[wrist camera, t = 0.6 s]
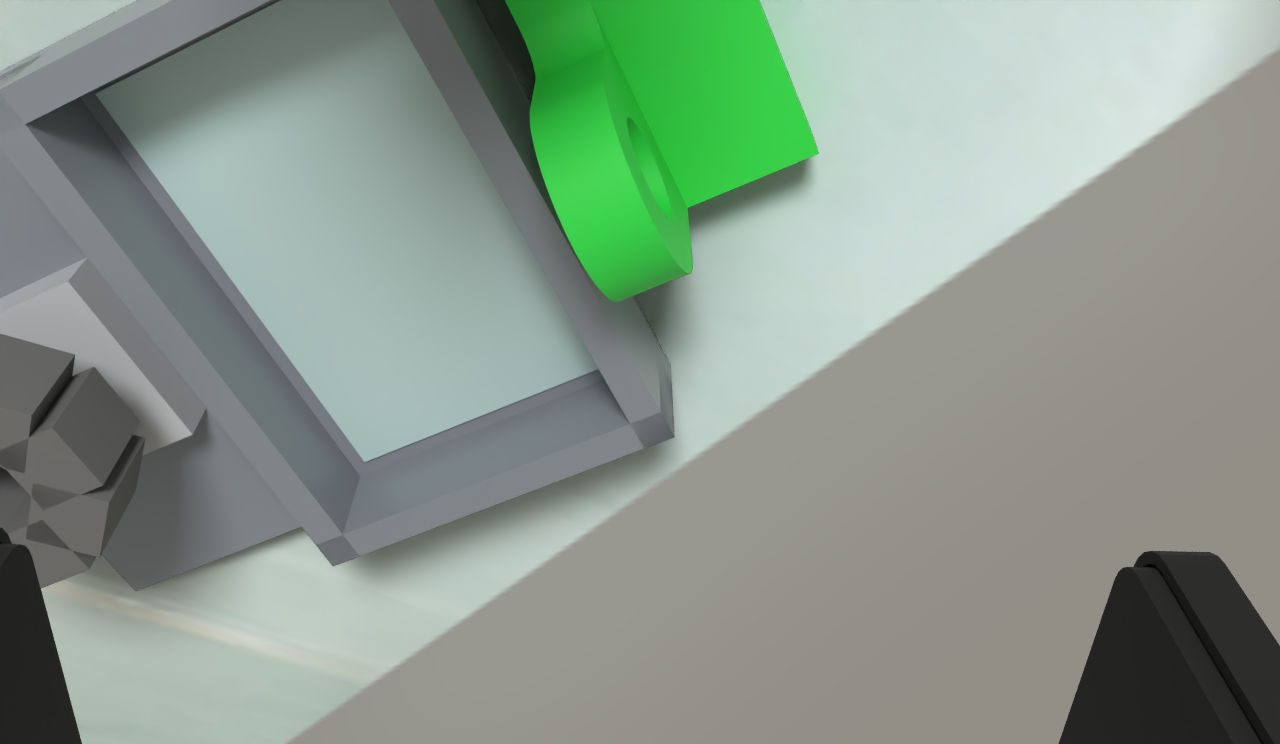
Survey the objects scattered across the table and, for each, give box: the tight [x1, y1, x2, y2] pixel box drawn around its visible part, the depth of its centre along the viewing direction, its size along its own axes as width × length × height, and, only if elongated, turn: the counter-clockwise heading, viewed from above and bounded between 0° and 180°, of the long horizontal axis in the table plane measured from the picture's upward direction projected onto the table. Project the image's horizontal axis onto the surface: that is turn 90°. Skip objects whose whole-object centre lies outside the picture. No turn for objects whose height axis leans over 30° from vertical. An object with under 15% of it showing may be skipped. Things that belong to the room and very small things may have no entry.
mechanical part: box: [505, 0, 819, 302], centre depth 30 cm, size 12×6×8 cm, turn 24°
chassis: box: [0, 0, 675, 591], centre depth 36 cm, size 21×17×5 cm
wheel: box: [0, 334, 145, 588], centre depth 35 cm, size 7×7×3 cm
